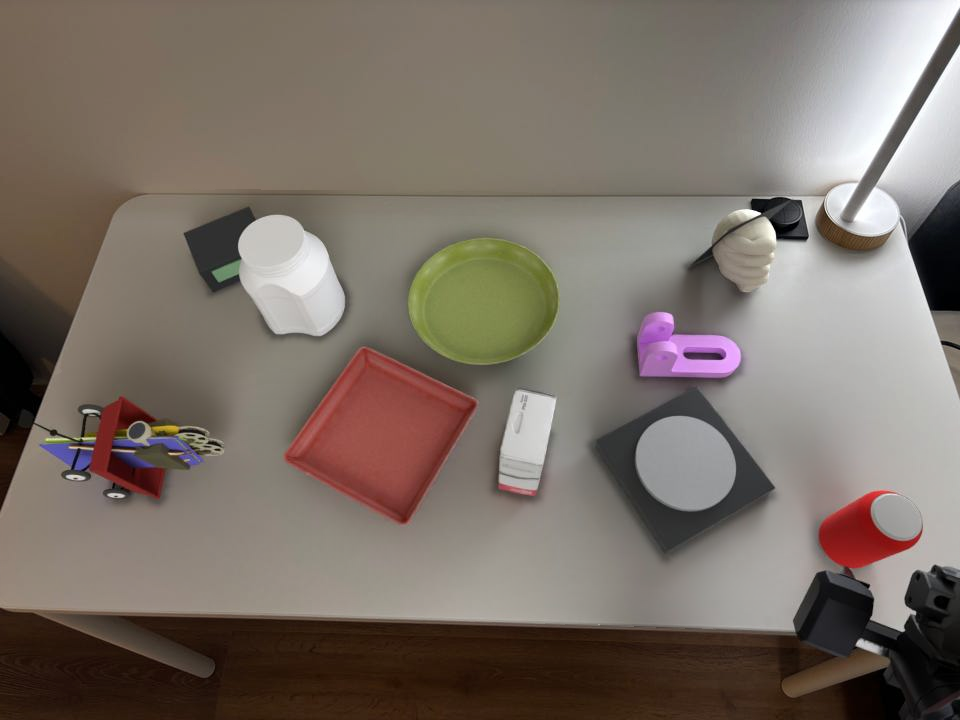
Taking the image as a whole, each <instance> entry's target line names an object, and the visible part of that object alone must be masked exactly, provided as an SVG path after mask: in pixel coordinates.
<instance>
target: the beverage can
mask: <svg viewBox="0 0 960 720" xmlns="http://www.w3.org/2000/svg"><path fill="white" fill-rule="evenodd" d="M923 522H924V521H923V516H922V514H921V511H920V510H919V508H918V506H917V505H916V504H915V503H914V502H913V501H912V500H910V499H909V498H908V497H906V496H904V495H902V494H900V493H898V492H895V491H891V490H886V489H885V490H884V489H882V490H881V489H880V490H874V491H870V492H868V493H866V494H865V495H862V496H861V497H860V498H857V499H855V500H853V501H852V502H851V503H849V504H847V505H845V506H843V507H841V509H839V510H837V511H835V512H834V513H832V514H830V515H829V516H827V517H826V518H824V520H822V522H821V524H820V525H819V528H818V541H819V545H820V547H821V549H822V552H824V554H825V556H827V557H828V559H830V560H831V561H832V562H834V563H835V564H836V565H839V566H841V567H844V566H846V567H849V568H850V569H860V568H864V567H866V566H868V565H871V564H874V563H877V562H879V561H881V560H885V559H887V558H889V557H892V556H894V555H898V554H900V553H902V552H904V551H907V550H910V549H911V548H913V547H914V546H915V545H917V543H918V542H919V541H920V539H921V537H922V535H923V531H924V530H923V529H924V523H923Z"/></svg>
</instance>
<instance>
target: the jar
mask: <svg viewBox="0 0 960 720" xmlns="http://www.w3.org/2000/svg"><path fill="white" fill-rule="evenodd" d="M238 250H239V253H240V256H241V258H242V260H241V263H240V267H239V276H240V281H239V282H240V283H241V285H242V287H243V288H244V290H245V292H246V293H247V295H249V296H250V298H251V300H252V301H253V303H254V305H255V307H257V309H258V311H259V312H260V314H261V315H262V317H263V320H264V322H265V323H266V324H267V326H268V327H269V329H270V331H272V333H274V334H275V335H285V334H297V333H298V334H304V335H305V334H306V335H310V336H312V337H322V336H324V335H326V334H327V333H329V332H330V331H331V330H333V328H334V327H336V325H337V324H338V323H339V321H340V320H341V318H342V317H343V315H344V312H345V308H346V296H345V292H344V289H343V287H342V285H341V283H340V282H339V279H338V277H337V273H336V271H335V269H334V267H333V265H332V261H331V259H330V256H329V253H328V250H327V247H326V246H325V244H324V243H323V241H322V240H321V239H320V238H319V237H317V236H316V235H314V234H313V233H311V232H309V231H306V230H304V227H303V226H302V225H301V223H300V222H299V221H298V220H297V219H295V218H293V217H291V216H288V215H284V214H270V215H266V216H263V217H260V218H257V219H256V221H254V222H253V223H251V224H250V225H249V226H248V227H247V228H246V229H245V230H244V231H243V233H242V234H241V236H240V239H239V242H238Z"/></svg>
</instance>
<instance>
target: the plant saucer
mask: <svg viewBox="0 0 960 720" xmlns="http://www.w3.org/2000/svg"><path fill="white" fill-rule="evenodd" d="M478 408H479V400H478V399H477V398H475V397H473V396H470V395H468V394H467V393H464V392H462V391H460V390H459V389H456V388H454V387H451V386H449V385H448V384H445V383H443V382H441V381H439V380H437V379H435V378H432V376H431V377H430V376H428V375H427V374H425V373H423V372H420V371H419V370H416V369H414V368H412V367H411V366H409V365H406V364H404V363H402V362H400V361H398V360H395V359H394V358H391V357H389V356H387V355H385V354H384V353H381V352H379V351H378V350H375V349H372V348H371V347H368V346H361V347H359V348H358V349H357V350H356V352H355V353H354V354H353V356H352V357H351V358H350V360H349V362H348V363H347V365H346V366H345V368H344V369H343V370H342V372H341V373H340V374H339V376H338V377H337V379H336V380H335V381H334V383H333V384H332V386H331V387H330V388H329V390H328V391H327V393H326V394H325V396H324V397H323V398H322V400H321V401H320V402H319V404H318V405H317V406H316V408H315V409H314V411H313V412H312V414H311V415H310V416H309V417H308V419H307V421H306V422H305V423H304V425H303V426H302V428H300V430H299V432H298V433H297V434H296V436H295V437H294V439H293V440H292V441H291V442H290V444H289V446H288V447H287V448H286V450H285V451H284V453H283V455H282V460H283V461H284V462H285V463H286V464H288V465H289V466H292V467H293V468H295V469H297V470H299V471H300V472H302V473H304V474H306V475H307V476H309V477H311V478H313V479H315V480H316V481H318V482H320V483H322V484H323V485H325V486H328V488H331V489H333V490H335V491H336V492H338V493H340V494H342V495H344V496H346V497H347V498H350V499H351V500H353V501H355V502H356V503H359V504H360V505H362V506H364V507H365V508H367V509H369V510H372V511H373V512H375V513H376V514H379V515H380V516H382V517H384V518H385V519H387V520H388V521H391V522H393V523H395V524H396V525H398V526H401V527H406V526H408V525H410V523H411V521H412V520H413V518H414V516H415V515H416V513H417V511H418V510H419V508H420V506H421V504H422V503H423V502H424V500H425V497H426V496H427V495H428V492H429V491H430V489H431V487H432V485H434V483H435V481H436V479H437V478H438V475H439V474H440V472H441V471H442V469H443V467H444V466H445V464H446V462H447V460H448V459H449V457H450V455H451V454H452V452H453V450H454V449H455V447H456V446H457V443H458V442H459V440H460V438H461V437H462V435H463V434H464V432H465V430H466V429H467V426H468V425H469V423H470V422H471V420H472V418H473V417H474V415H475V413H476V412H477V410H478Z"/></svg>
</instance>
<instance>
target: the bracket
mask: <svg viewBox="0 0 960 720" xmlns="http://www.w3.org/2000/svg"><path fill="white" fill-rule="evenodd" d="M674 321H675V320H674V316H673V315H672V314H671V313H668V312H664V311H656V312H651V313H649V314H647V315H646V316H645V317H643V320H642V323H641V325H640V327H639V328H640V329H639V331H638V333H637V337H636V348H637V359H638V360H637V361H638V362H637V363H638V374H639V377H663V378H669V377H670V378H674V377H675V378H716V379H721V378H726V377H728V376H730V375H732V374H733V373H734V372H735V371H736V370H737V368H738V367H739V365H740V363H741V360H742V354H741V350H740V348H739V346H738V345H737V343H735V342H734V341H733V340H732V339H730V338H729V337H726V336H723V335H718V334H717V335H715V334H713V335H712V334H673V332H674V330H675V323H674ZM684 353H708V354H709V353H712V354H715V353H716V354H719V355H720V356H721V357H722V359H690V358H687V357H686V356H685V355H684Z"/></svg>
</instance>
